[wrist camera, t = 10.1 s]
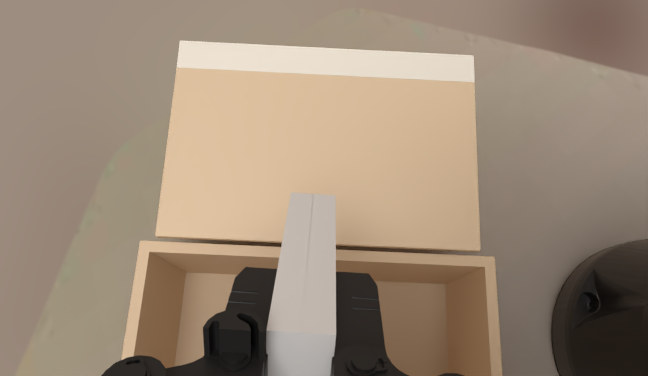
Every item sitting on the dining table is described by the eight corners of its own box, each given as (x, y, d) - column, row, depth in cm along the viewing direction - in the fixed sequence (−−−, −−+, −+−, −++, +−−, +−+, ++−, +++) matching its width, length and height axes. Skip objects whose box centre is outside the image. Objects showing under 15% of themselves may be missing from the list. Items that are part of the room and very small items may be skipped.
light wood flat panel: (476, 252, 28) (469, 61, 31) (480, 250, 27) (473, 55, 30) (158, 237, 27) (183, 46, 30) (154, 235, 27) (180, 40, 30)
